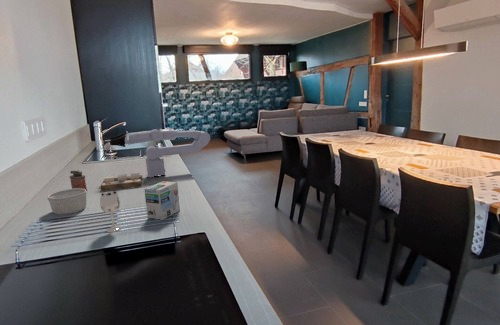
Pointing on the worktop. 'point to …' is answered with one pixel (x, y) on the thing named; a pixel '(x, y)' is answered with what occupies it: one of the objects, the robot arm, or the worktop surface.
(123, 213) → the worktop surface
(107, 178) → the key
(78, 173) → the lighter
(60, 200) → the ramekin
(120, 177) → the key
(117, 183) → the pattern card
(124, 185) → the button board
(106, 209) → the wineglass
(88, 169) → the worktop surface
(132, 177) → the key
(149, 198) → the light bulb box
